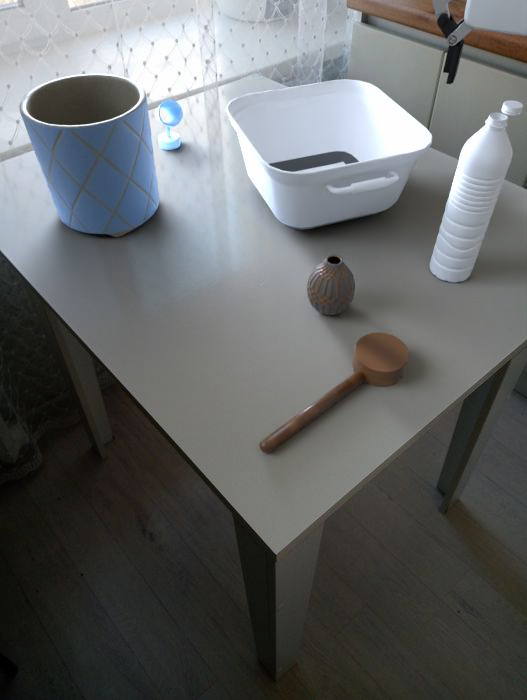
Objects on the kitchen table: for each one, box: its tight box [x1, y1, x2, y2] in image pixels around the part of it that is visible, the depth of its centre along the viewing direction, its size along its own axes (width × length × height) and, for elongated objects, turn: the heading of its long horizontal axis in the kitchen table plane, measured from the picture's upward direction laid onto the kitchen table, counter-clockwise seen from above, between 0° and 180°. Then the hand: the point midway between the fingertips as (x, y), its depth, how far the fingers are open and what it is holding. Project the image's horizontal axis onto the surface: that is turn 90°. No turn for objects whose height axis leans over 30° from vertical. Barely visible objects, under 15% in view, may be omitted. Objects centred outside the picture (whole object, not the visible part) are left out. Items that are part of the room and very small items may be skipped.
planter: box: [18, 73, 160, 238], centre depth 92 cm, size 19×19×20 cm
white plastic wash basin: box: [225, 78, 433, 231], centre depth 96 cm, size 34×29×15 cm
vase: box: [306, 254, 356, 316], centre depth 79 cm, size 7×7×9 cm
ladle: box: [259, 331, 410, 454], centre depth 70 cm, size 24×7×3 cm, turn 131°
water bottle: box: [429, 99, 524, 283], centre depth 79 cm, size 9×6×25 cm
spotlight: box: [154, 98, 184, 151], centre depth 112 cm, size 5×10×7 cm
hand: (493, 85), depth 63 cm, fingers open, 9 cm apart
